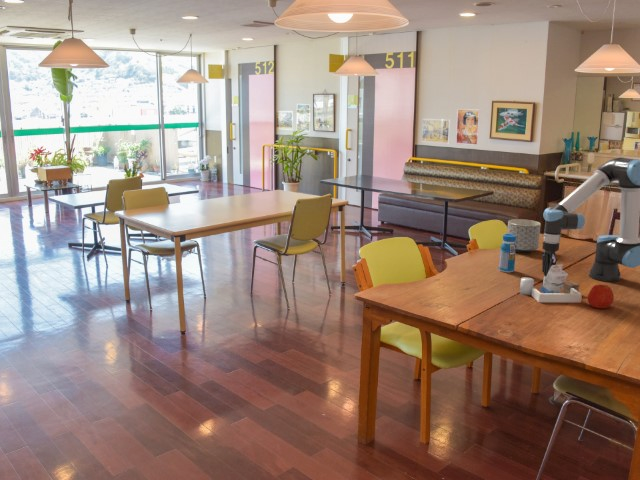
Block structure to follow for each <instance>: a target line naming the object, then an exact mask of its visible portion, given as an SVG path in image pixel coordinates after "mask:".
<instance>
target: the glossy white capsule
mask: <svg viewBox="0 0 640 480" xmlns="http://www.w3.org/2000/svg"><path fill="white" fill-rule="evenodd" d="M534 281H535V279H534V278H531V277H526V276H525V277H521V278H520V285H519V286H520V287H519V294H521V295H523V296H524V295H525V296H526V295H527V296H532V288H534V284H535V282H534Z"/></svg>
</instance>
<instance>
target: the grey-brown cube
mask: <svg viewBox="0 0 640 480" xmlns="http://www.w3.org/2000/svg"><path fill="white" fill-rule="evenodd" d="M571 288H574V289H575V290H577V291H578V292H580V291H579V290H580V284H578V283H576V282H574V281H567V282H566V281H565V282H564V284H563V286H562V293H570V291H571Z"/></svg>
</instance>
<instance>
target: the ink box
mask: <svg viewBox="0 0 640 480" xmlns="http://www.w3.org/2000/svg"><path fill="white" fill-rule="evenodd" d="M563 266H564V263H561V264H560V263H559V264H558V263H557V264H556V265H552V266H551V267H550V270H549V271H548V274H547V276H546V278H545V281H544V283H542V286H541V288H540V292H541V293H561V290H563V285H564V282H566V280H567V278H568V276H569V274H568V273H567V272H566V271H565V270H564V269H563ZM554 267H555V268H554Z"/></svg>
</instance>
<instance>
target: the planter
mask: <svg viewBox="0 0 640 480" xmlns="http://www.w3.org/2000/svg"><path fill="white" fill-rule="evenodd" d="M541 226H542V225H541V222H539V221H536V220H532V219H522V218H519V219H518V218H514V219H509V220H508V222H507V229H506V230H507V232H506V234H513V235H515V236H516V241H515V242H514V243H515V245H516V253H523V254H524V253H525V254H527V253H530V252H532V251H535V250H538V249H539V244H540V236H541V235H540V234H541Z"/></svg>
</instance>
